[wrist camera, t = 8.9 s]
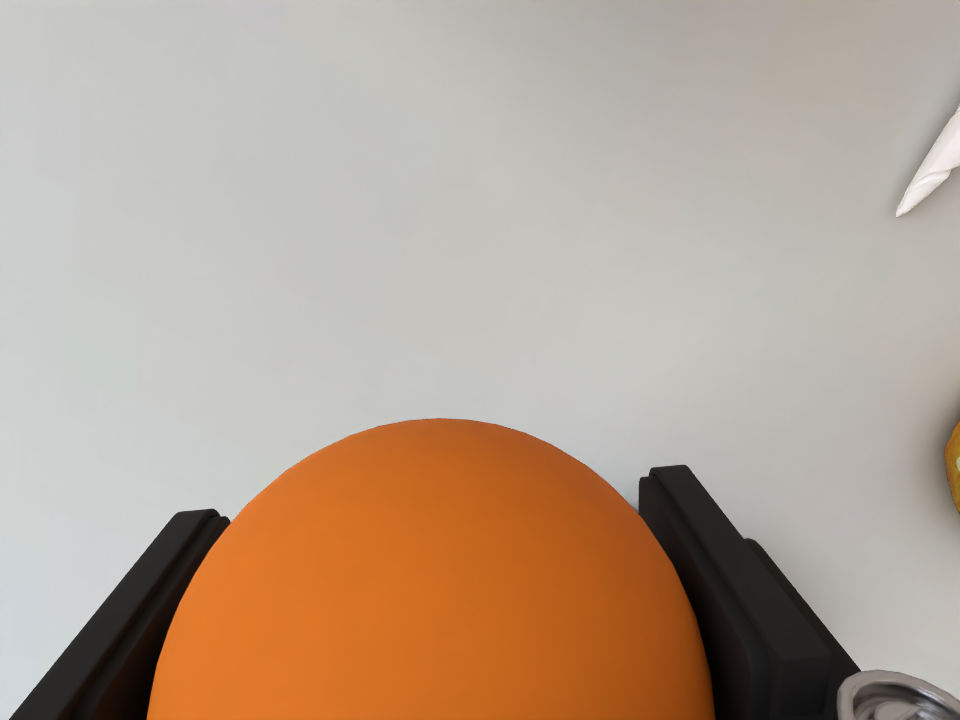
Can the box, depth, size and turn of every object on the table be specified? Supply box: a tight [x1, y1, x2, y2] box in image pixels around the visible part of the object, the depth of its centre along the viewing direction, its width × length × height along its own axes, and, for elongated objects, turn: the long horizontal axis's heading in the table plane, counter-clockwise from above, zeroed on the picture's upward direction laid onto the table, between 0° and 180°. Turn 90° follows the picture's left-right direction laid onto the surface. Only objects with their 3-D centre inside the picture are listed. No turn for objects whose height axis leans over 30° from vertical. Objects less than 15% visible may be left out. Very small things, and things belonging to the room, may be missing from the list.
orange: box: [147, 418, 715, 720], centre depth 7 cm, size 7×7×7 cm
